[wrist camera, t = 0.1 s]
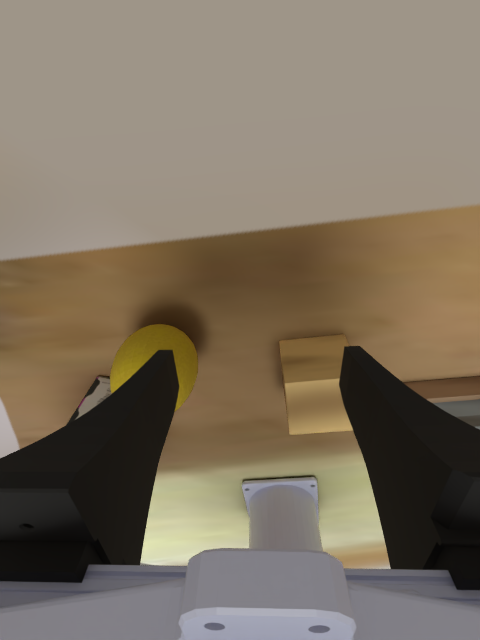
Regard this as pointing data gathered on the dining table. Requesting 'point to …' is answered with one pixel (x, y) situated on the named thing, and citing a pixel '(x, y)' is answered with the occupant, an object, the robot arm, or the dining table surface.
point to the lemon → (145, 346)
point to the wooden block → (314, 384)
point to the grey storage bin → (453, 396)
